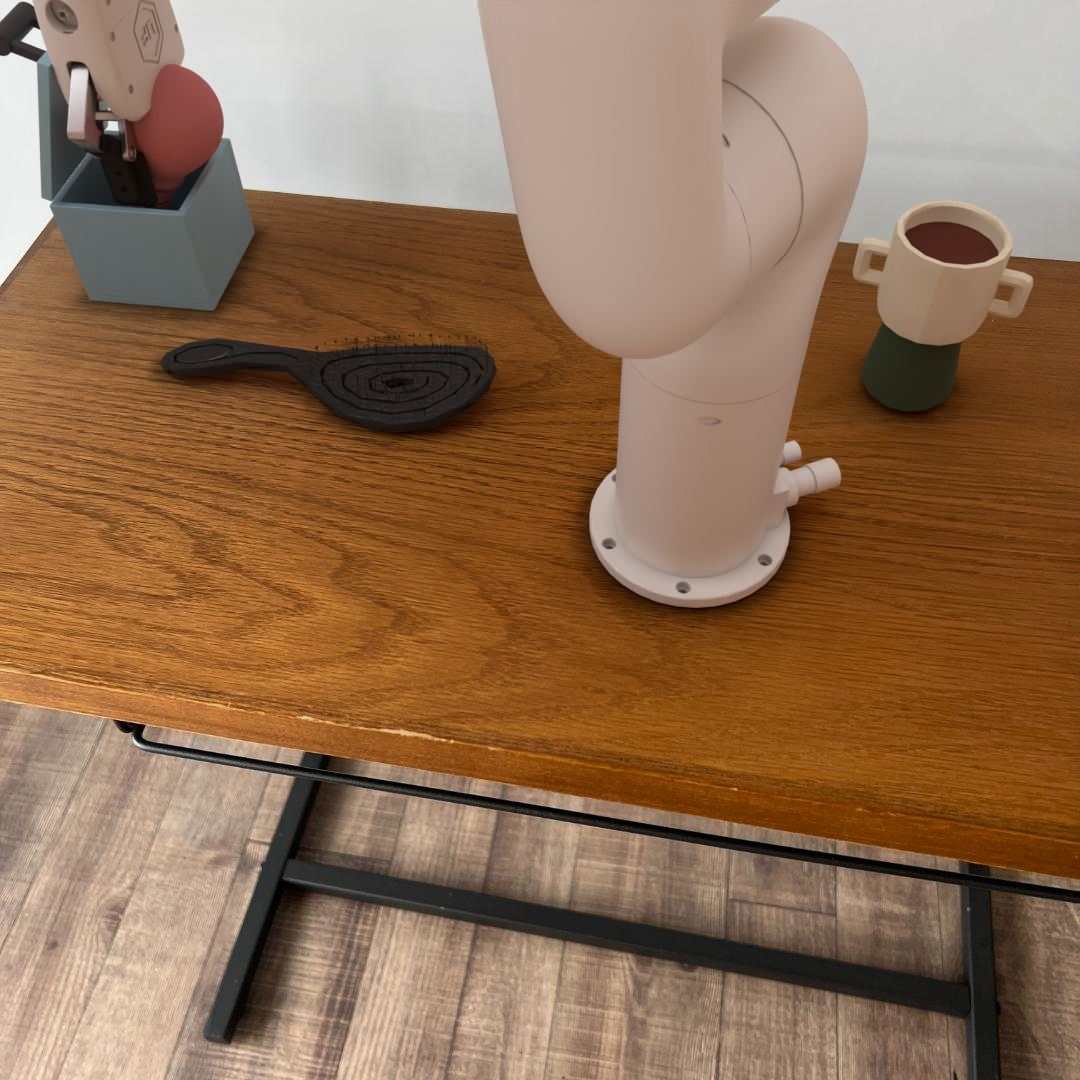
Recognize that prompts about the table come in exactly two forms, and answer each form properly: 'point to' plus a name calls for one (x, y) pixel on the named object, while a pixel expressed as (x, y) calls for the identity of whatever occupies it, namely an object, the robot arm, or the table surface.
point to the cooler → (157, 236)
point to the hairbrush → (359, 377)
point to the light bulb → (178, 129)
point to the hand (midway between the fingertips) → (156, 173)
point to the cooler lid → (44, 103)
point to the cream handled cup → (934, 297)
